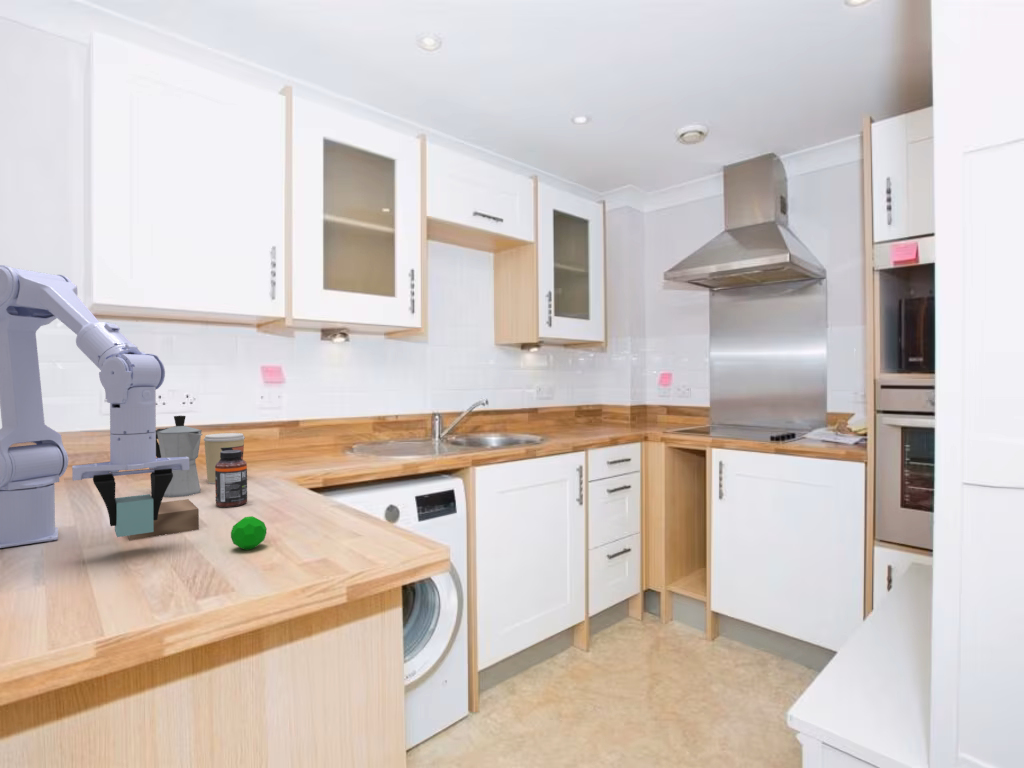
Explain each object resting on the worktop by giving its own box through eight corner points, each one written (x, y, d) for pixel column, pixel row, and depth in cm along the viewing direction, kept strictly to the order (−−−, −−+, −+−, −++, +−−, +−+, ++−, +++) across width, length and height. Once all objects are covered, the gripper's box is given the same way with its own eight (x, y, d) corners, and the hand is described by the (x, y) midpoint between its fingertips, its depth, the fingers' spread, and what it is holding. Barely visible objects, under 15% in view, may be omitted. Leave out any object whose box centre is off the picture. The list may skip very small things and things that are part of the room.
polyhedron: (226, 548, 85) (226, 517, 85) (259, 541, 89) (259, 512, 89) (237, 555, 82) (237, 523, 82) (271, 548, 85) (271, 517, 85)
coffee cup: (227, 485, 135) (227, 437, 135) (195, 483, 137) (194, 436, 137) (252, 478, 144) (252, 433, 144) (222, 477, 146) (221, 432, 146)
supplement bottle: (217, 502, 116) (217, 449, 116) (248, 500, 118) (248, 448, 118) (213, 509, 111) (212, 453, 110) (245, 506, 113) (245, 451, 113)
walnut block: (129, 542, 89) (129, 518, 89) (123, 529, 97) (123, 507, 97) (198, 531, 96) (198, 508, 96) (188, 520, 103) (188, 499, 103)
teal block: (117, 537, 80) (116, 503, 80) (114, 530, 83) (114, 498, 83) (153, 531, 83) (153, 499, 83) (149, 525, 86) (149, 494, 86)
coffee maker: (217, 491, 128) (217, 414, 128) (186, 498, 120) (185, 417, 120) (167, 487, 132) (167, 413, 132) (133, 495, 124) (133, 416, 124)
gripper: (72, 438, 75) (73, 536, 75) (192, 431, 84) (193, 519, 85) (71, 434, 81) (72, 525, 81) (184, 428, 90) (185, 510, 90)
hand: (133, 521), depth 83 cm, fingers closed on teal block, 4 cm apart
